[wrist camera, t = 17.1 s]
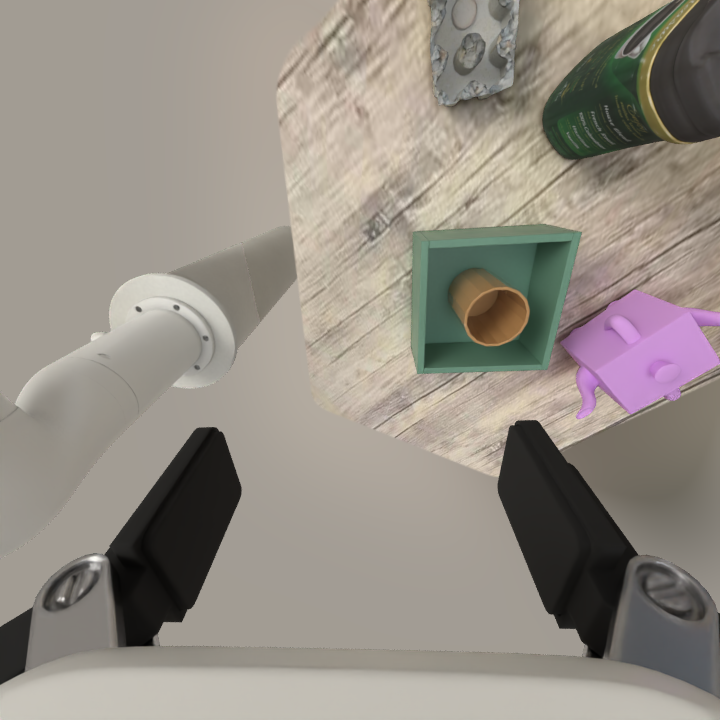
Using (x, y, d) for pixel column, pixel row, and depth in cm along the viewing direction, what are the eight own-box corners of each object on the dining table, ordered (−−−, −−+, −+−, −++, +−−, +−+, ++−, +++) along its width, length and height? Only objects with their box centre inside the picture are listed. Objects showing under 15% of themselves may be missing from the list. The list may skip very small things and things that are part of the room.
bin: (410, 346, 47) (417, 374, 40) (412, 231, 39) (421, 241, 32) (521, 342, 46) (547, 370, 39) (544, 224, 38) (582, 232, 31)
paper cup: (445, 318, 43) (461, 347, 36) (449, 268, 40) (467, 288, 32) (495, 316, 43) (523, 345, 35) (503, 266, 40) (535, 285, 32)
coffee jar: (567, 175, 36) (731, 164, 19) (526, 115, 33) (673, 45, 17) (656, 93, 32) (948, -4, 16) (617, 19, 30) (913, -184, 13)
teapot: (576, 276, 41) (639, 304, 31) (682, 281, 41) (777, 311, 31) (539, 378, 48) (581, 425, 39) (629, 382, 48) (693, 431, 39)
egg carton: (424, -34, 29) (431, -67, 25) (511, -52, 28) (531, -88, 24) (427, 112, 34) (433, 103, 30) (501, 100, 33) (517, 89, 29)
